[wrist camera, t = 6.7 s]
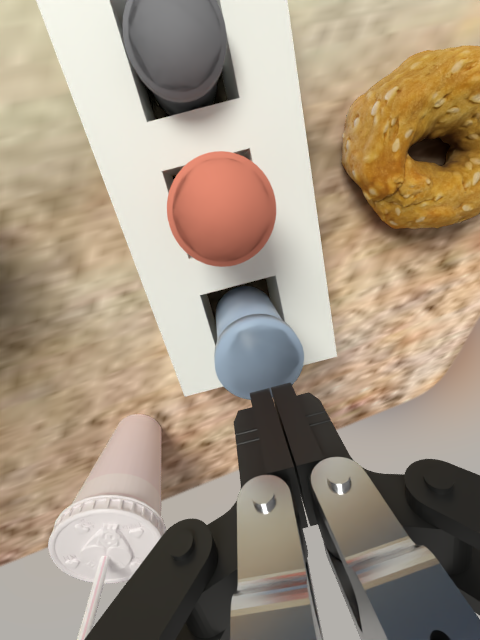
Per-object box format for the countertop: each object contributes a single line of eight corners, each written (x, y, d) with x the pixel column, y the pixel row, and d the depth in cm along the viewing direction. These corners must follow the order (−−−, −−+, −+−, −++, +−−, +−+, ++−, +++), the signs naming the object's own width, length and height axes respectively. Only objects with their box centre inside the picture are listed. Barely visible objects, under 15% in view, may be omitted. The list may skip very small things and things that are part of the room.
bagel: (370, 27, 18) (422, -21, 14) (521, 92, 21) (607, 67, 16) (312, 205, 22) (339, 210, 18) (446, 244, 24) (500, 257, 20)
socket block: (70, 21, 17) (20, -42, 12) (254, -27, 17) (272, -108, 12) (188, 358, 25) (184, 396, 20) (312, 325, 25) (336, 356, 20)
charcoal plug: (137, 49, 17) (105, -17, 12) (209, 30, 17) (211, -45, 12) (162, 132, 19) (144, 108, 13) (228, 115, 19) (237, 84, 13)
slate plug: (204, 292, 19) (203, 334, 13) (269, 275, 19) (295, 309, 13) (221, 350, 21) (227, 409, 15) (282, 334, 21) (310, 387, 15)
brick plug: (169, 175, 17) (150, 167, 11) (244, 155, 17) (264, 137, 11) (191, 251, 18) (185, 278, 13) (260, 233, 18) (285, 252, 13)
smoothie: (96, 456, 28) (0, 690, 15) (102, 394, 25) (-3, 605, 13) (171, 464, 29) (143, 687, 16) (183, 405, 27) (162, 608, 14)
